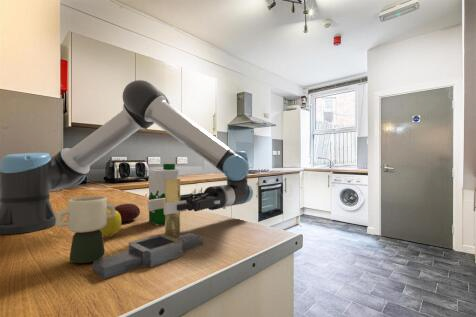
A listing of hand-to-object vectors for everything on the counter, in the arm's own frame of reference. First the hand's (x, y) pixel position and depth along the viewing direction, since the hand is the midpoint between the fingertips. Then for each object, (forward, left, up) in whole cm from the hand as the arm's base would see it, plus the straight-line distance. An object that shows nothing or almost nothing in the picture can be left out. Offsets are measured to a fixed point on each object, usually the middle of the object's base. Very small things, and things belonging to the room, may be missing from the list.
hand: (156, 207), depth 61 cm
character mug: (-1, -15, -9) cm, 18 cm away
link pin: (0, +5, -9) cm, 10 cm away
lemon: (-13, -6, -9) cm, 17 cm away
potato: (-27, +5, -9) cm, 29 cm away
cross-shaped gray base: (+8, -5, -9) cm, 13 cm away
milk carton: (-17, +13, -9) cm, 23 cm away
